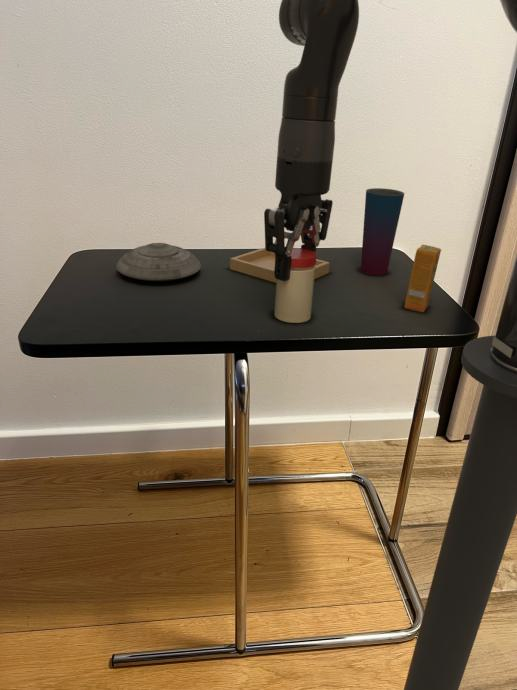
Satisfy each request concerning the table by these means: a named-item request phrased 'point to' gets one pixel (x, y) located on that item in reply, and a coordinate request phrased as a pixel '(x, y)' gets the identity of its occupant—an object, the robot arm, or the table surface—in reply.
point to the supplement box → (422, 278)
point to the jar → (295, 296)
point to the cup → (379, 229)
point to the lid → (302, 258)
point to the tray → (267, 265)
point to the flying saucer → (158, 263)
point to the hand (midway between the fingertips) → (294, 274)
